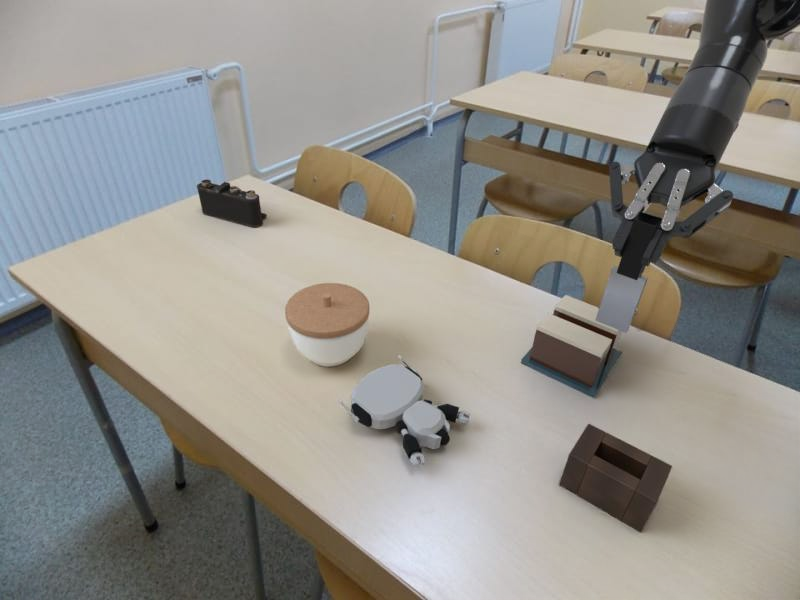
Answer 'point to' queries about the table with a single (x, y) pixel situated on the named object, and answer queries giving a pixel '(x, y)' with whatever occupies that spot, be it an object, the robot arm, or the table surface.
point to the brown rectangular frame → (615, 476)
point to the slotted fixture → (575, 346)
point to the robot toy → (403, 409)
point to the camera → (230, 203)
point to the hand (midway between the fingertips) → (631, 258)
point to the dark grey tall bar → (628, 276)
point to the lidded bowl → (328, 322)
